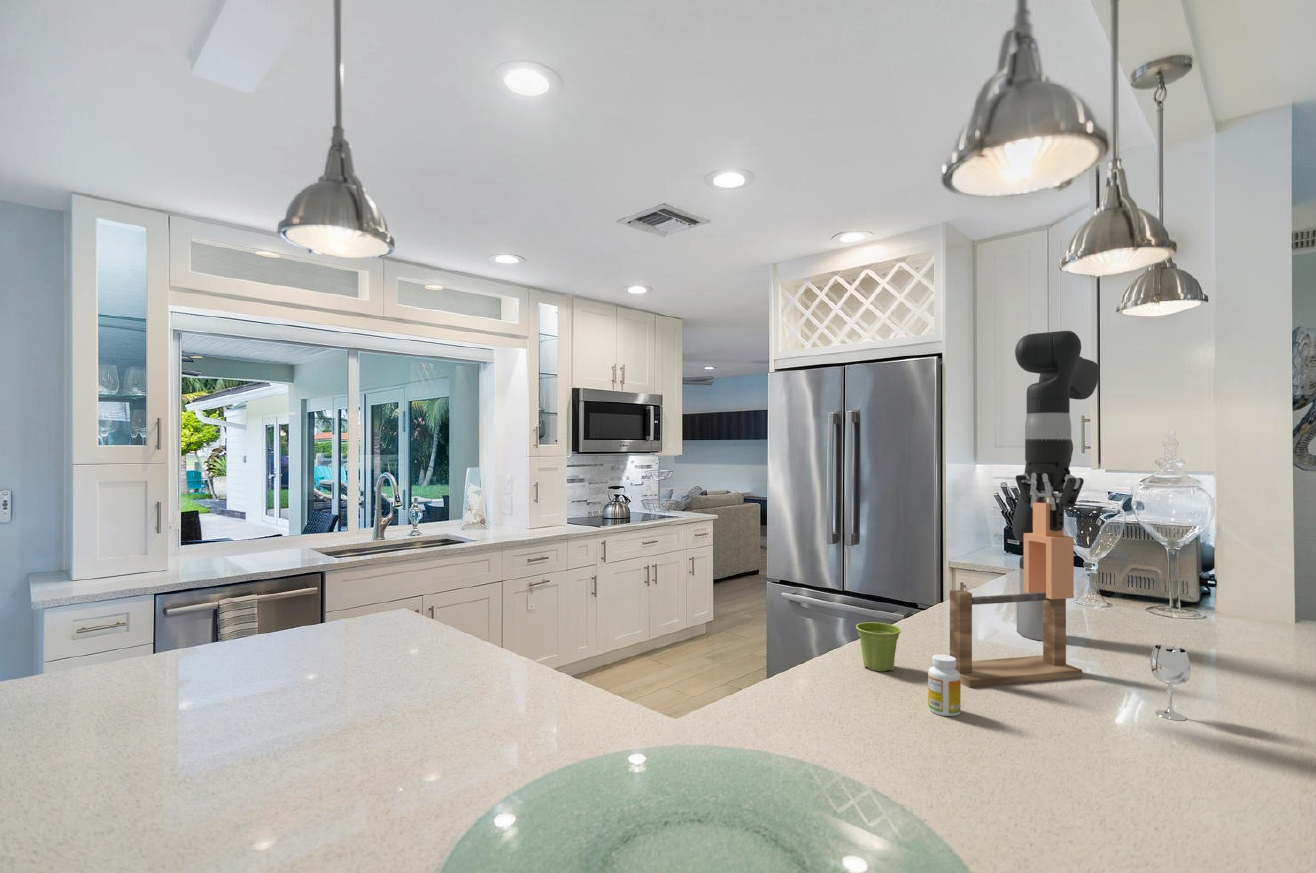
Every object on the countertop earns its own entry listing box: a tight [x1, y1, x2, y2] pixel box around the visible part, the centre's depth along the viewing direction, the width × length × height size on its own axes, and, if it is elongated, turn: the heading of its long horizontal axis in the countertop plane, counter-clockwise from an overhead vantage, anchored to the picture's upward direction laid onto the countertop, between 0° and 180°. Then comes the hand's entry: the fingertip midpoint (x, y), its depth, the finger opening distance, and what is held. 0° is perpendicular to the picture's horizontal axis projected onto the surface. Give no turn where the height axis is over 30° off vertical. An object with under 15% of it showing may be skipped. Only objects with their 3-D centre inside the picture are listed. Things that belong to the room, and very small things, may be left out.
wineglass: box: [1149, 644, 1192, 721], centre depth 118 cm, size 6×6×12 cm
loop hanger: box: [1023, 501, 1075, 600], centre depth 123 cm, size 6×5×17 cm
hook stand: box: [949, 589, 1083, 689], centre depth 139 cm, size 10×28×18 cm, turn 104°
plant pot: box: [855, 621, 902, 673], centre depth 143 cm, size 9×9×9 cm
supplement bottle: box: [927, 654, 962, 717], centre depth 119 cm, size 5×5×10 cm
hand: (1047, 528), depth 123 cm, fingers closed on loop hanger, 3 cm apart
